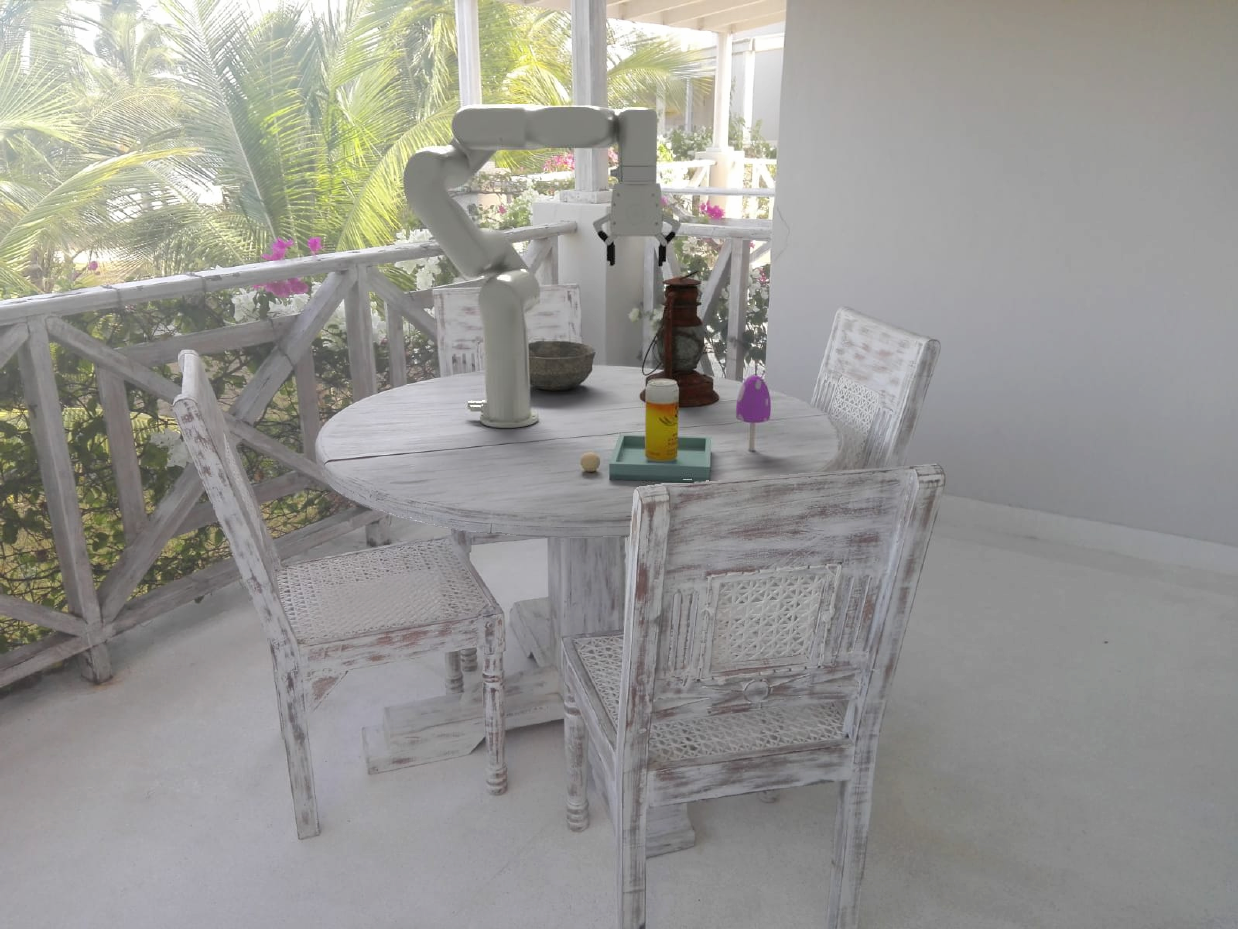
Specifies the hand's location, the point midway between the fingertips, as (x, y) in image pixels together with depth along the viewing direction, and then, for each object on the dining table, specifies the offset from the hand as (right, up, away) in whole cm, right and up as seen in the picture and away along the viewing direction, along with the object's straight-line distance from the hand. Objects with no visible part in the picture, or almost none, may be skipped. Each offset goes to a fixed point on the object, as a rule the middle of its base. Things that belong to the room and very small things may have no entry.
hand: (636, 265), depth 188 cm
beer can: (+4, -39, -10) cm, 41 cm away
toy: (+23, -37, -1) cm, 43 cm away
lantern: (+11, -24, +37) cm, 45 cm away
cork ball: (-9, -41, -14) cm, 44 cm away
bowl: (-19, -21, +45) cm, 53 cm away
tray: (+5, -40, -10) cm, 41 cm away
